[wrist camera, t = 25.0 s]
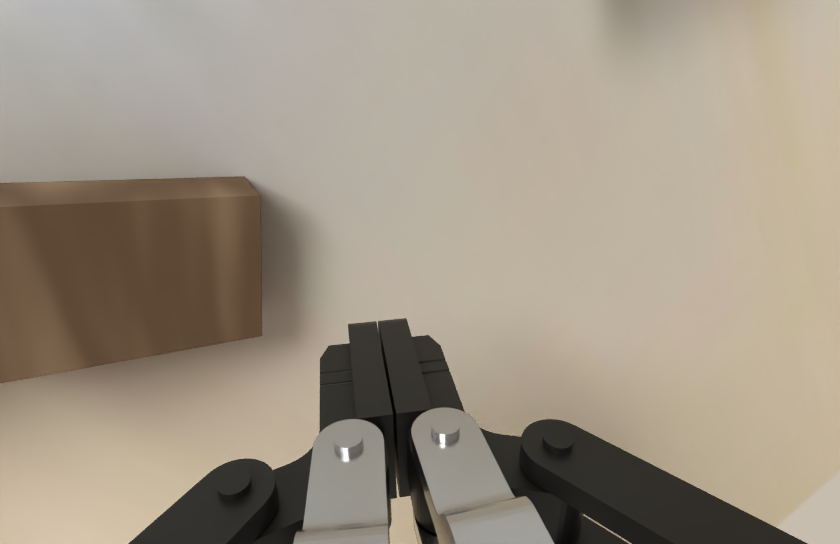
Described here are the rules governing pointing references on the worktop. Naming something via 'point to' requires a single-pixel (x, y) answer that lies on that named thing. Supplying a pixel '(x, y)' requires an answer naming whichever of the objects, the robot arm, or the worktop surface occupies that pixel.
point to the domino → (125, 270)
